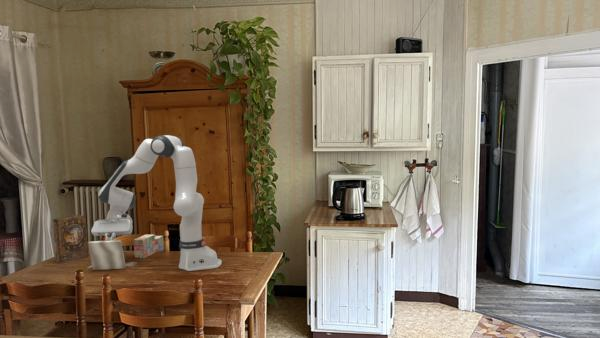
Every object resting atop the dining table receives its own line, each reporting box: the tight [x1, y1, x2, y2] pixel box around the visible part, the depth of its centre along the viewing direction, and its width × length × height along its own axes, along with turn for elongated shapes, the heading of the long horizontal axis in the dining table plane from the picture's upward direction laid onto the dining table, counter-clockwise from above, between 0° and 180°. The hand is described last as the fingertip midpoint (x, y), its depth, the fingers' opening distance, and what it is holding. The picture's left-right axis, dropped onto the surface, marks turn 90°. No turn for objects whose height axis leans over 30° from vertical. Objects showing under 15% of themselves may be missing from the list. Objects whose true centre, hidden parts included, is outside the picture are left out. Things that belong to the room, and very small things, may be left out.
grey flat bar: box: [86, 261, 139, 270], centre depth 213 cm, size 24×6×2 cm, turn 94°
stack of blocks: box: [133, 234, 165, 259], centre depth 237 cm, size 21×6×12 cm, turn 169°
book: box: [52, 214, 89, 264], centre depth 232 cm, size 16×6×25 cm, turn 144°
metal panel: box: [87, 239, 127, 271], centre depth 206 cm, size 16×17×2 cm
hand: (108, 241), depth 209 cm, fingers closed
